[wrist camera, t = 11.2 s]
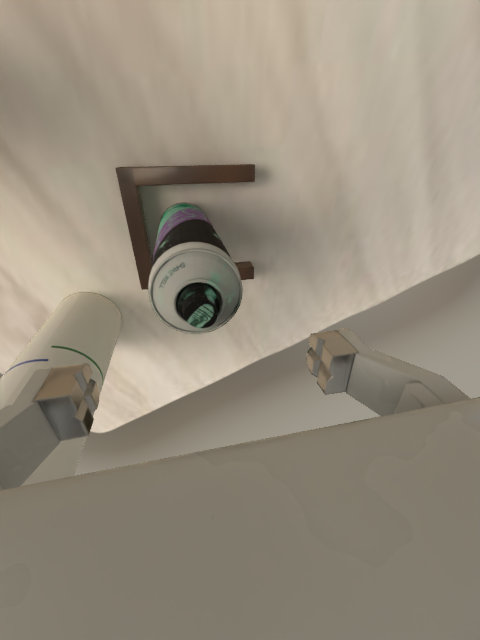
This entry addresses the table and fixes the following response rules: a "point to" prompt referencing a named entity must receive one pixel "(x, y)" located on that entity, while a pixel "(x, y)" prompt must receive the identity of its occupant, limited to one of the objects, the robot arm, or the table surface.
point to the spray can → (192, 273)
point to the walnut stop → (166, 176)
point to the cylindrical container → (66, 349)
